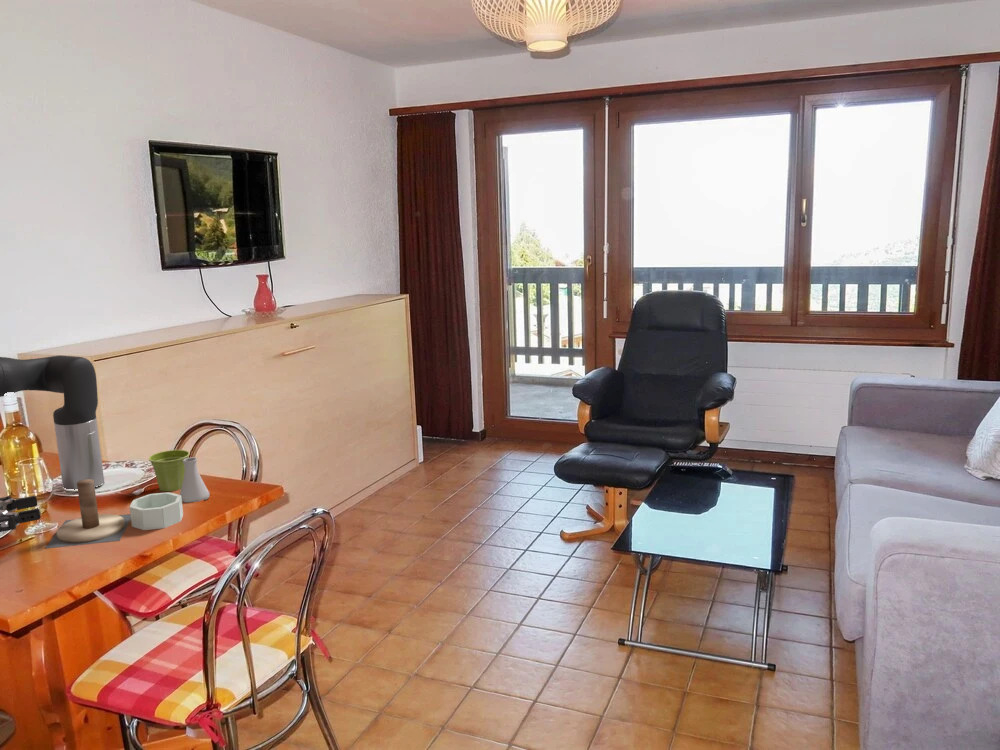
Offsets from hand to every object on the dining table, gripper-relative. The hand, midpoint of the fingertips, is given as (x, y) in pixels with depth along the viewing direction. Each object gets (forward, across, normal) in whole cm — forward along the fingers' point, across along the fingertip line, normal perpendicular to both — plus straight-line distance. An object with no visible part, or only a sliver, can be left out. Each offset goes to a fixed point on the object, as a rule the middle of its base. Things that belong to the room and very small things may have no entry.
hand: (38, 507), depth 161 cm
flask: (+32, +8, +8) cm, 34 cm away
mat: (+9, 0, +8) cm, 12 cm away
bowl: (+22, -3, +8) cm, 24 cm away
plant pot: (+30, +18, +8) cm, 36 cm away
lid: (+9, 0, +8) cm, 12 cm away
